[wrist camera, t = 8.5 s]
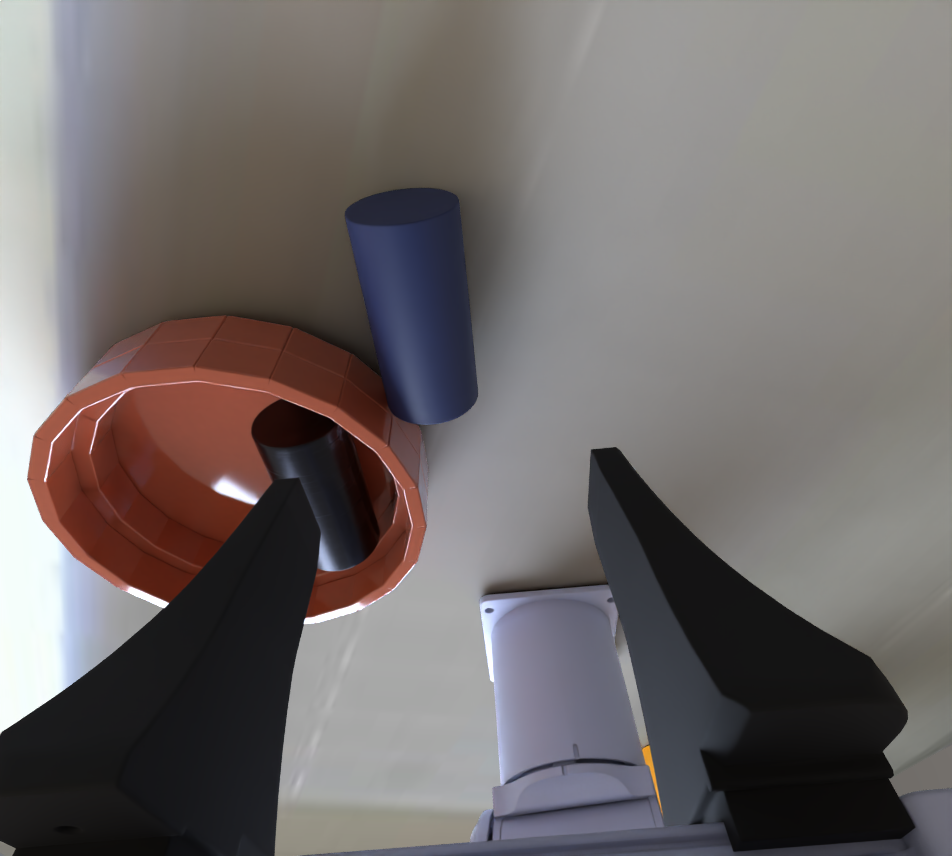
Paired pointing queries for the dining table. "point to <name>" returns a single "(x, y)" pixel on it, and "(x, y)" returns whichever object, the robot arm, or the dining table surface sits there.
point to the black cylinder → (321, 478)
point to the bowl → (215, 455)
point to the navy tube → (417, 300)
